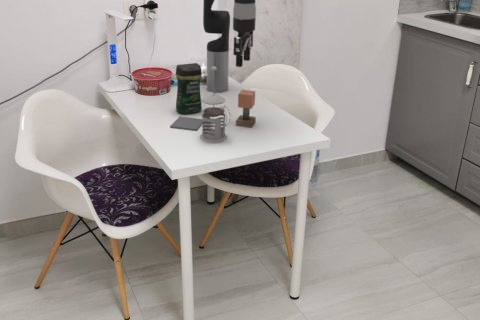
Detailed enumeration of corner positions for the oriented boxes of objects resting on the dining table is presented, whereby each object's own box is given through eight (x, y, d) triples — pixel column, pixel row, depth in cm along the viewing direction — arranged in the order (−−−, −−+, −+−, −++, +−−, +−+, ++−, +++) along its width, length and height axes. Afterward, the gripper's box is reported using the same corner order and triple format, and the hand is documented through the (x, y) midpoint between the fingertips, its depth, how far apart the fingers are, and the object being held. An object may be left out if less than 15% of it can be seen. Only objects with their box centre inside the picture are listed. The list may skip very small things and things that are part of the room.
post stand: (239, 119, 200) (240, 91, 195) (255, 121, 198) (256, 93, 193) (235, 125, 194) (236, 96, 189) (251, 127, 193) (253, 98, 188)
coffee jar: (180, 116, 201) (179, 68, 193) (173, 109, 208) (172, 62, 200) (204, 112, 205) (204, 65, 197) (196, 106, 212) (196, 60, 204)
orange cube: (241, 102, 196) (241, 89, 194) (254, 104, 195) (255, 91, 193) (238, 107, 192) (238, 94, 189) (251, 108, 190) (252, 95, 188)
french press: (212, 129, 191) (212, 60, 180) (237, 138, 184) (239, 67, 173) (193, 137, 184) (192, 66, 173) (218, 146, 177) (219, 73, 166)
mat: (179, 117, 200) (179, 116, 199) (205, 120, 198) (205, 119, 197) (170, 127, 191) (170, 126, 191) (196, 130, 189) (196, 129, 189)
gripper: (240, 11, 186) (239, 57, 193) (226, 18, 174) (226, 67, 181) (261, 13, 184) (259, 59, 191) (248, 20, 172) (247, 70, 179)
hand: (242, 63), depth 186 cm, fingers open, 8 cm apart
